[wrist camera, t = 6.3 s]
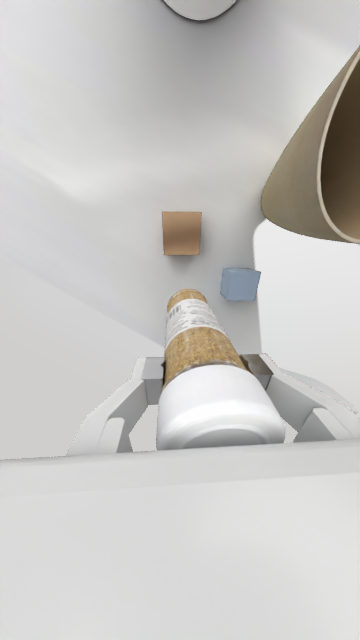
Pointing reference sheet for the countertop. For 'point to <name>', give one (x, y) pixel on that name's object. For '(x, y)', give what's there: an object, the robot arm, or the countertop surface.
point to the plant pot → (322, 166)
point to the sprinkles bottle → (209, 385)
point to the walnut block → (181, 233)
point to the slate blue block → (239, 284)
